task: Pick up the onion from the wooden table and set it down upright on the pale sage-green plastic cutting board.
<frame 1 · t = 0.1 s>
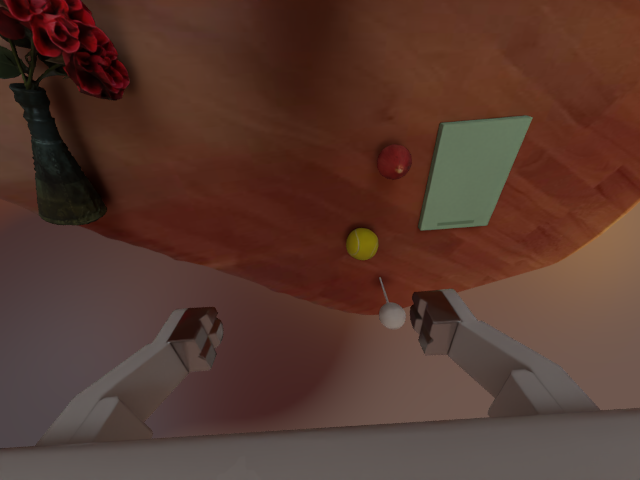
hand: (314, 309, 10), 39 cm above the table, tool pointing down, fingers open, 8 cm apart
carnation: (86, 113, 39), on the table
cutting board: (464, 179, 48), on the table
lollipop: (379, 277, 65), on the table
tennis ball: (359, 234, 56), on the table
onion: (388, 155, 45), on the table
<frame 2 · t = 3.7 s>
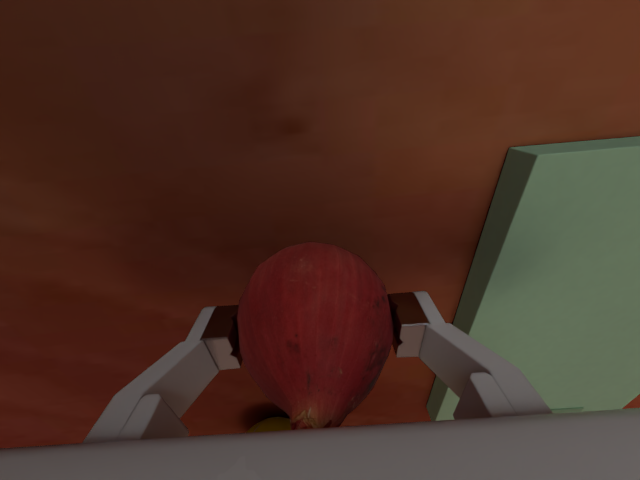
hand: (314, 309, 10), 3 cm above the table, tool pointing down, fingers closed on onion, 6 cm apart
cutting board: (568, 316, 15), on the table
tennis ball: (278, 418, 22), on the table
onion: (314, 258, 13), on the table, touching gripper
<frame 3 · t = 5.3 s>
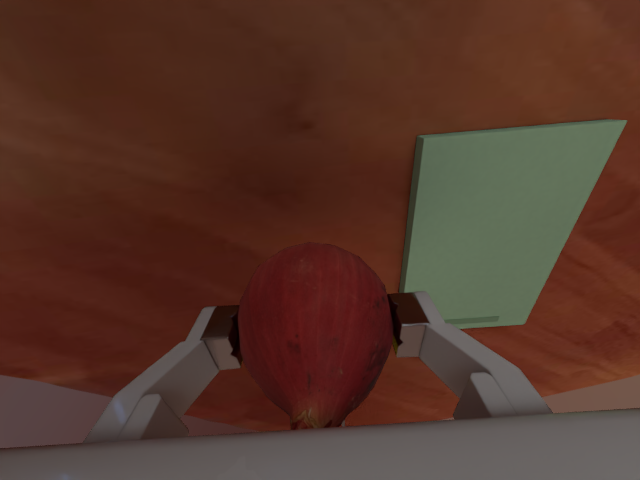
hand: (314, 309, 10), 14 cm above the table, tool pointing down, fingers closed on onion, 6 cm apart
cutting board: (476, 244, 24), on the table
onion: (314, 258, 13), point 10 cm above the table, touching gripper
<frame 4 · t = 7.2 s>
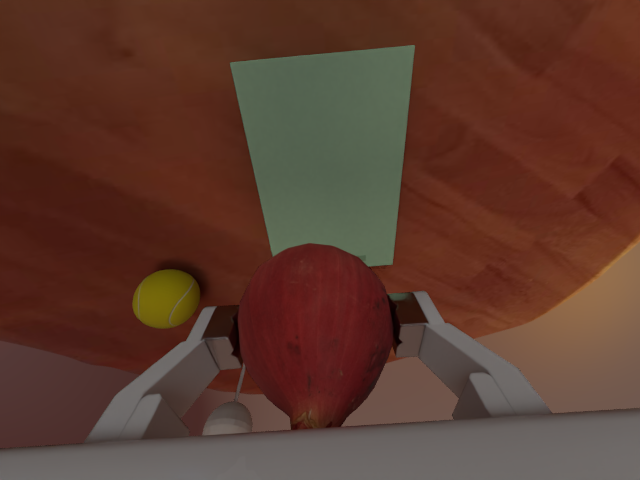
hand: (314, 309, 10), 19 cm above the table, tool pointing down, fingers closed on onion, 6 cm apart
cutting board: (328, 181, 26), on the table
lollipop: (250, 343, 40), on the table
tennis ball: (182, 278, 33), on the table
onion: (314, 259, 13), point 15 cm above the table, touching gripper
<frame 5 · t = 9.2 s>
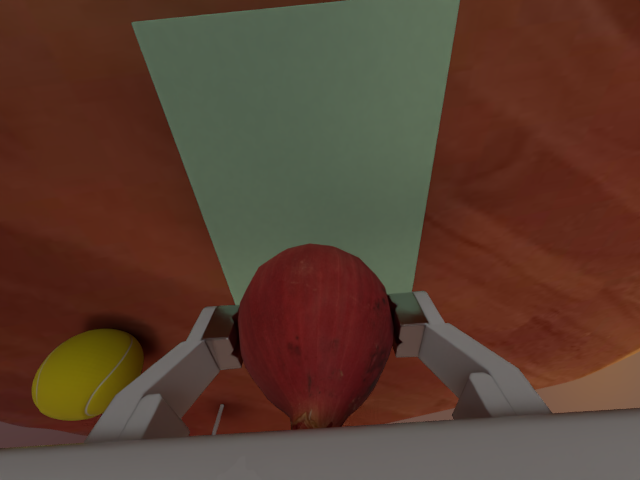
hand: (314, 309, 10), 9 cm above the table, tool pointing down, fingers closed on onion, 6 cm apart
cutting board: (315, 214, 18), on the table
tennis ball: (123, 335, 24), on the table
onion: (315, 259, 13), point 6 cm above the table, touching gripper
when the fingers open (5 cm above the table, at t = 10.8 s): onion stays where it is, resting on cutting board.
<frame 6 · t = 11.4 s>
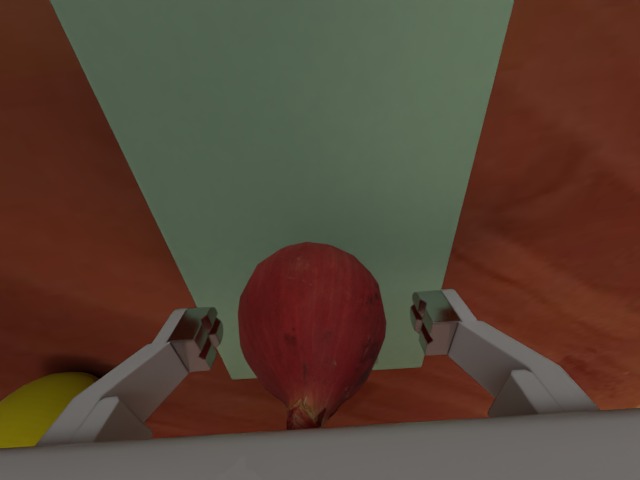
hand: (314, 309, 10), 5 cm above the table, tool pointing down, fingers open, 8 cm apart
cutting board: (313, 245, 14), on the table
tennis ball: (89, 376, 21), on the table
onion: (312, 258, 13), point 1 cm above the table, touching cutting board
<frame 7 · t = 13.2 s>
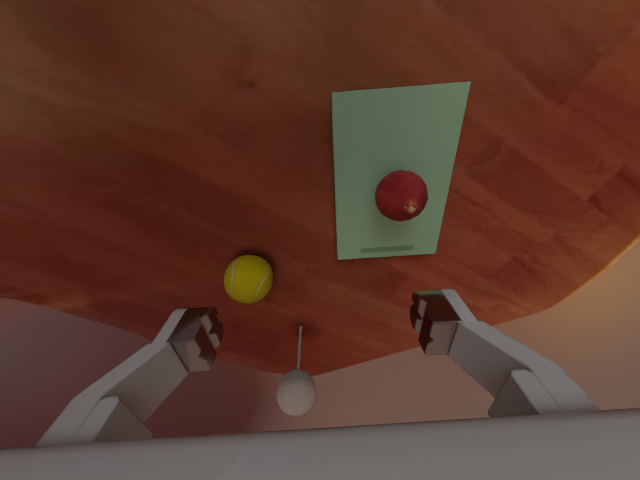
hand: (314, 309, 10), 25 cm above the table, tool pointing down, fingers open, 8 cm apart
cutting board: (389, 183, 32), on the table
lollipop: (300, 325, 46), on the table
tennis ball: (254, 264, 39), on the table
onion: (391, 186, 31), point 1 cm above the table, touching cutting board
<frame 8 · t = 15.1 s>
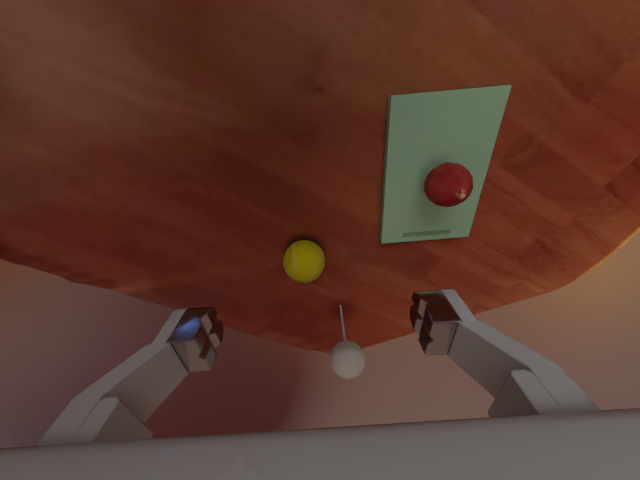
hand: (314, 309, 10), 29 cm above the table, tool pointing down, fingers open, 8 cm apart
cutting board: (431, 174, 37), on the table
lollipop: (340, 305, 51), on the table
tennis ball: (304, 249, 43), on the table
onion: (434, 176, 35), point 1 cm above the table, touching cutting board
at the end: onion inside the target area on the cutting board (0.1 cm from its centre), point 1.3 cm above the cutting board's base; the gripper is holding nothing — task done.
